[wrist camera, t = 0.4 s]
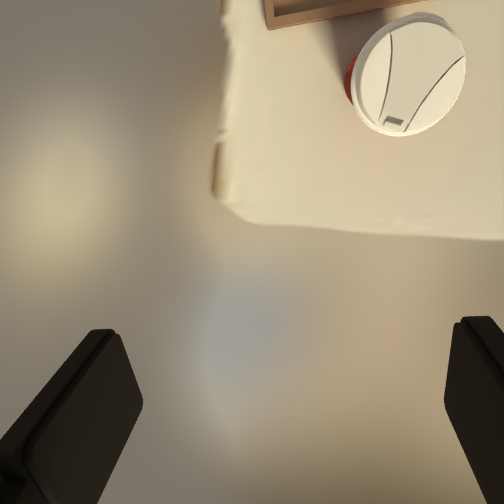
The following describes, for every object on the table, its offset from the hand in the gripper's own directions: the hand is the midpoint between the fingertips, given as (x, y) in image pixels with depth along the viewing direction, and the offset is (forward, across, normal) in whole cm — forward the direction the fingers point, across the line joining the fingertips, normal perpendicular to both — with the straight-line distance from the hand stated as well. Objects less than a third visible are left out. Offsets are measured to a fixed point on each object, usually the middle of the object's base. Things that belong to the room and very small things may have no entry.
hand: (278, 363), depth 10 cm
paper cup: (+34, -8, -6) cm, 36 cm away
